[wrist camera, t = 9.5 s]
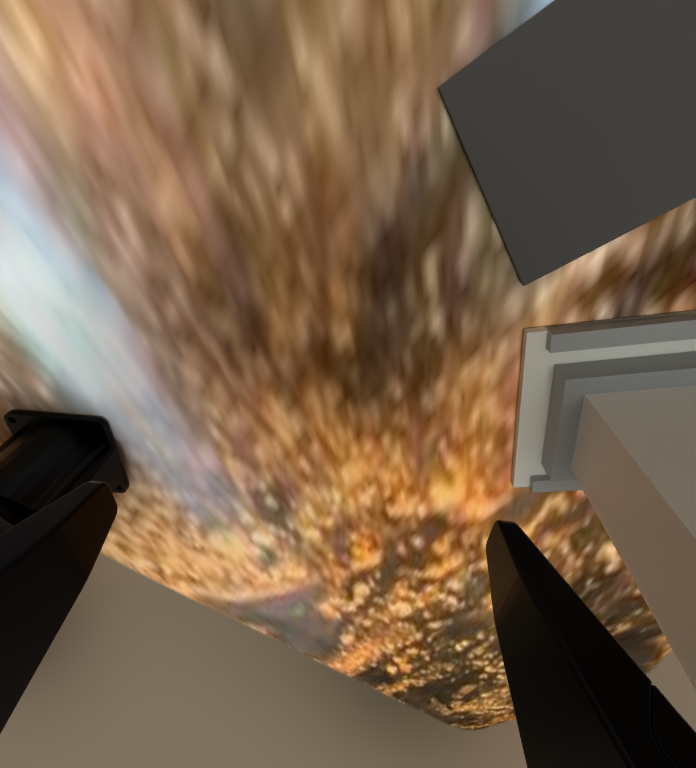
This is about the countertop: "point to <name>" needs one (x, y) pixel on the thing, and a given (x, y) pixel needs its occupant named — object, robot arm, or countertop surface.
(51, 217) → the countertop surface
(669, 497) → the plug
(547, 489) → the port
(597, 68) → the pad
